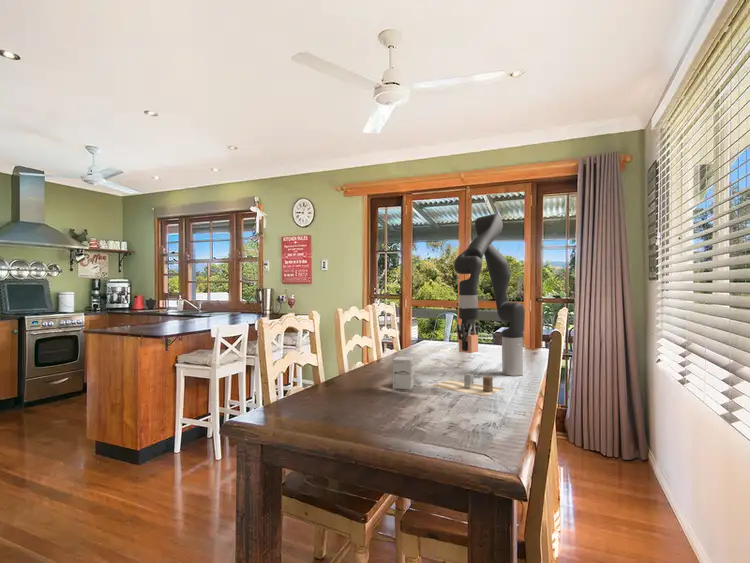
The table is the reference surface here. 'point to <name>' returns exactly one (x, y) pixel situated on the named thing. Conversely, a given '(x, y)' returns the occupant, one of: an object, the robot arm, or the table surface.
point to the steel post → (468, 381)
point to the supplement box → (402, 373)
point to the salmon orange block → (470, 344)
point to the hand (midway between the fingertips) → (468, 349)
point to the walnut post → (488, 384)
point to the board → (459, 387)
